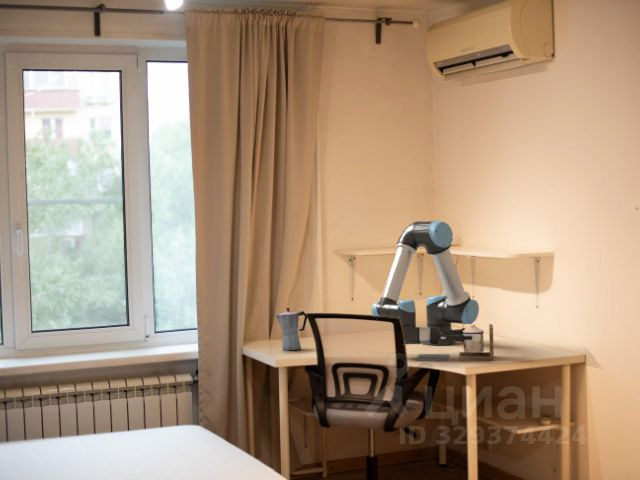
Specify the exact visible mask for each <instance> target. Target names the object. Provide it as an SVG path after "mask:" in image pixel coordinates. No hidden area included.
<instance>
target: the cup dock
mask: <svg viewBox="0 0 640 480" xmlns="http://www.w3.org/2000/svg"><path fill="white" fill-rule="evenodd" d="M488 329H489V331H488V332H489V333H488V334H489V339H488V340H489V351H483V352H480V353H467V352H464V351H459V355H458V356H459V357H458V362H494V361H495V360H494V359H495V358H494V355H495V354H494V352H495V351H494V348H495V347H494V325H493V324H492V323H491V324H488Z"/></svg>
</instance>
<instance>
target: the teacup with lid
mask: <svg viewBox="0 0 640 480" xmlns="http://www.w3.org/2000/svg"><path fill="white" fill-rule="evenodd" d="M484 332H485V331H484V329H481V328H479V327H478V326H476V325H475V324H470V327H468V328H465V330H463V335H464V336H465V334H480V341H465V343H462V344H463V352H467V353H480V352H485V350H484V349H485V348H484V347H485V346H484V344H485V343H484Z"/></svg>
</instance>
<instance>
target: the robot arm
mask: <svg viewBox="0 0 640 480" xmlns="http://www.w3.org/2000/svg"><path fill="white" fill-rule="evenodd" d="M453 234H454V232H453V230H452V228H451V226H450V225H449V224H448V223H446V221H440V220H433V221H431V220H430V221H425V220H424V221H422V220H421V221H420V220H419V221H414V222H412V223H410V224H409V225H408V226H406V228H405V229H403V231H402V232H401V234H400V235H399V237H398V240H397V243H396V245H395V247H396V249H397V250H396V252H395V255H394V258H393V260H392V261H393V262H392V264H391V268H390V270H389V274H388V277H387V279H386V282H385V285H384V287H383V291H382V294H381V296H380V301H378V302H375V303H374V304H373V305H372V307H371V314H372V316H373V317H374V316H378V317H391V318H398V319H400V320H401V323H402V329H403V334H404V340H405V344H404V345H405V346H406V345H422V346H425V345H426V346H427V345H429V346H449V345H450V346H451V345H455V344H456V342H458V343H459V342H461V343H462V344H463V343H465V341H480V334H465V336H464V335H463V330H466V328H465V327H463V328H460V329H457V328H455V329H453V328H452V324H459V325H460V324H461V325H473V323H474V322H476V320H477V318H478V317H479V311H480V306H479V303H478V301H477V300H475V299H471V295H470V293H469V292H467V291H466V290H465V289H464V286H463V283H462V281H461V278H460V275H459V272H458V270H457V267H456V264H455V261H454V259H453V256H452V254H451V251H450V249H451V247H452V243H453V236H454V235H453ZM420 247H421V248H423V247H424V250H425V251H426V254H427V255H429V256H431V258H432V260H433V263H434V266H435V268H436V271H437V274H438V277H439V279H440V282H441V285H442V287H443V290H444V293H445V294H444V295H435V296H429V297H427V298H426V305H425V307H426V311H425V312H426V326H417V321H416V320H417V317H416V314H417V313H416V311H417V309H416V302H415V300H412V299H401V300H399V298H400V294H401V291H402V288H403V285H404V282H405V279H406V276H407V273H408V270H409V268H410V264H411V262H412V260H413V259H412V258H413V256H414V255H415V254H417V251H418V249H419V248H420Z"/></svg>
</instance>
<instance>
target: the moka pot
mask: <svg viewBox="0 0 640 480" xmlns="http://www.w3.org/2000/svg"><path fill="white" fill-rule="evenodd" d="M301 316H304V318H303V324H302V328H300V329H299V317H301ZM274 317H275V318H276V319H277V321H278V323H279V325H280V329H281V331H282V335H281V336H282V343H281V344H282V345H281V346H282V347H281V349H282V351H287V352H288V351H296V350H300V349H301V348H302V346H301V342H300V336H299V333H298V332H303V331H305V327H306V325H307V320H308V314H306V313H305V312H304V310H302V311H296V312H294V311H290V307H286V311H284V312H281V313H277V314H276V315H275V316H274Z"/></svg>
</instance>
